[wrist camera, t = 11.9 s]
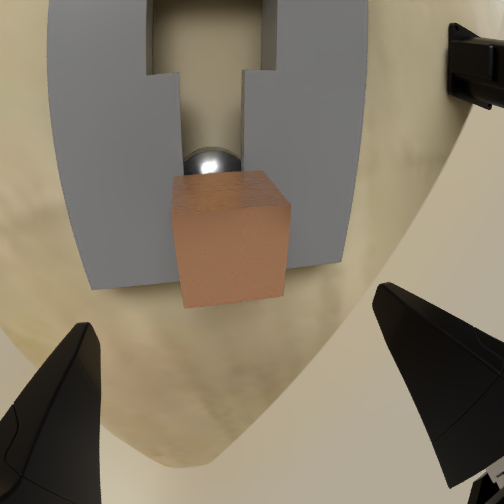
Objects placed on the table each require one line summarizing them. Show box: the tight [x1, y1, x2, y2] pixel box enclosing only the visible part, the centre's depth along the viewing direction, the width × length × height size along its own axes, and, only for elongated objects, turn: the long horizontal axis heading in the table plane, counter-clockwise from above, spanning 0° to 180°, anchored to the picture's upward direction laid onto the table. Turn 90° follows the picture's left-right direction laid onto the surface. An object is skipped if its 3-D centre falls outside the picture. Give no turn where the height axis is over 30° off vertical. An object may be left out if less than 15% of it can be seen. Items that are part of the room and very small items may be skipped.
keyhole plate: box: [47, 0, 368, 290], centre depth 14 cm, size 18×16×3 cm
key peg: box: [171, 147, 292, 308], centre depth 14 cm, size 4×4×8 cm
